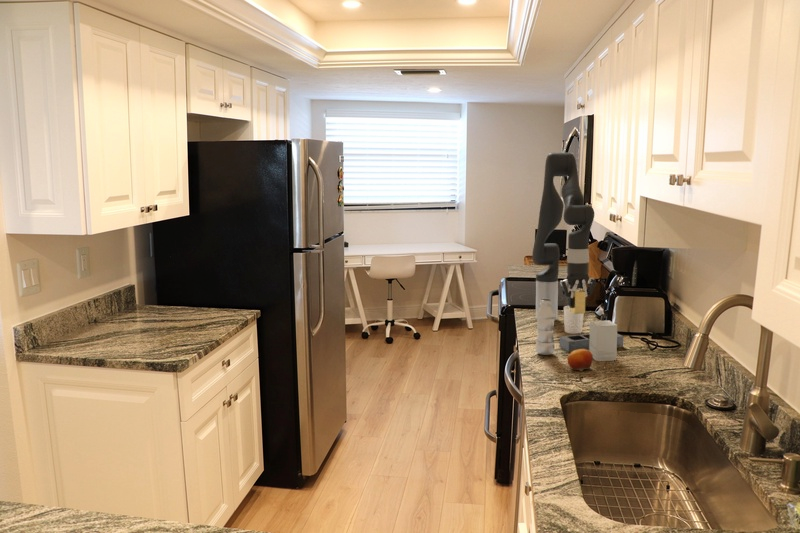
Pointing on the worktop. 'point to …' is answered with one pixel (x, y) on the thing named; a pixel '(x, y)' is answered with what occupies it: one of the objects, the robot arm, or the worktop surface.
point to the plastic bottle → (545, 328)
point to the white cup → (572, 321)
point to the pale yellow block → (578, 302)
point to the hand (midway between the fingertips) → (577, 306)
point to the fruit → (580, 359)
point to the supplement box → (603, 340)
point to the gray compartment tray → (581, 342)
